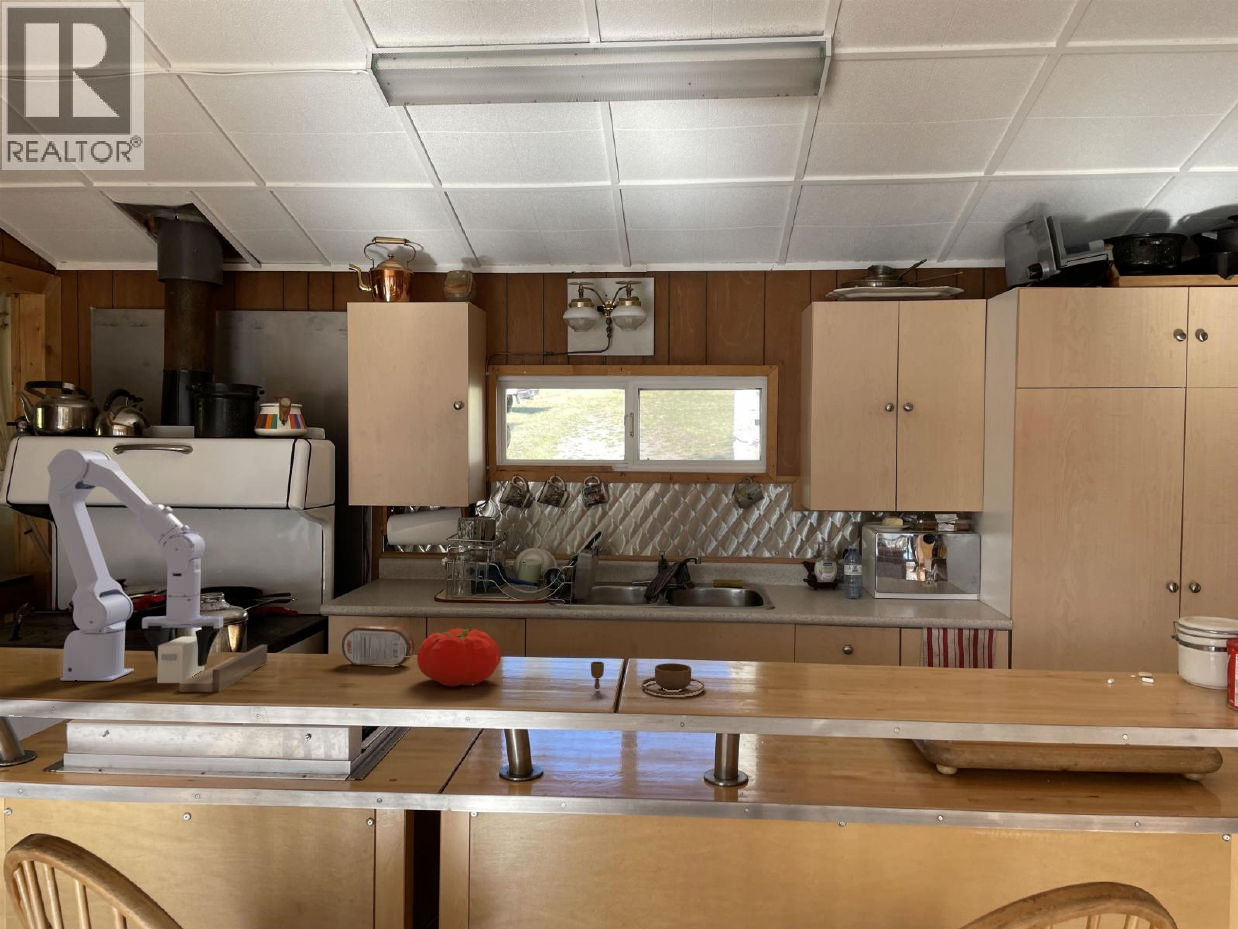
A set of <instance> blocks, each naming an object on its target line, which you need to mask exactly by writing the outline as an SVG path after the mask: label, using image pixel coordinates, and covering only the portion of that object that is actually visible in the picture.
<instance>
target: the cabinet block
mask: <svg viewBox="0 0 1238 929" xmlns="http://www.w3.org/2000/svg"><path fill="white" fill-rule="evenodd" d="M197 661H198V645H197V638H196V636H180V637H177V638H175V639H173V640H170V641H168V642H167V643H165V644H162V645H159V646H158V666H157V675H156V676H157V681H156V683H157V684H180V683H182V682H183V681H185V680H187V679H189V678H191V677H192V676H194V675H195V674H197V673H199V672H200V671H203V670H204V671H205V665H203V666H198V662H197Z"/></svg>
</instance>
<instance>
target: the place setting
mask: <svg viewBox="0 0 1238 929" xmlns="http://www.w3.org/2000/svg"><path fill="white" fill-rule="evenodd" d="M604 669H605V663H604V662H602V661H591V662H590V674H591V677H592V678H594V685H593V686H594V690H595V689H600V688H601V684H600V679H601V678H602V677H603V676H604V673H605V672H604V671H605V670H604ZM650 681H656V683H657V684H656V685H657V687H660V688H664V689H667V690H679V689H683V688H684V689H686V688H687V687H688V686H690V685H689V684H690V682H691V681H697V682H699V683H701V684H702V685H703V686H702V687H701V688H700V689H699V688H697V689H694V690H687V691H681V692H667V691H663V690H658V689H653V688H650V687H649V686H647V687H646V686H644V684H646V683H648V682H650ZM641 688H643V689H644V690H646V691H650V692H653V693H656V694H661V695H685V694H689V693H693V692H696V691H700V690H702V689H703V688H704V689H705V683H704V682H702V681H700V680H698V679H695V678H692V667H691V666H689V665H686V664H683V663H674V662H673V663H671V662H670V663H668V662H667V663H666V662H665V663H661V664H657V665H655V666H654V677H649V678H646V679H644V680H642V681H641ZM643 689H642V690H643ZM684 689H683V690H684ZM644 690H643V691H644Z"/></svg>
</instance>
